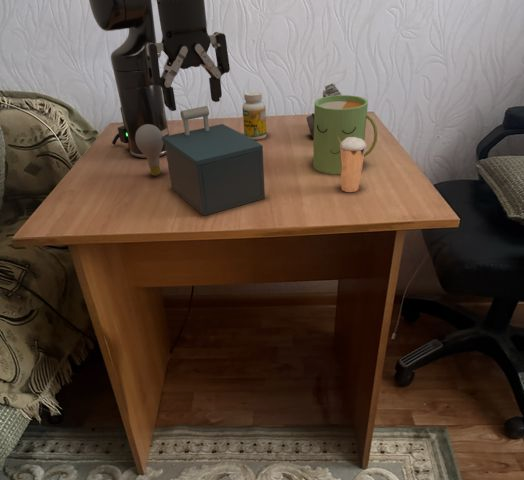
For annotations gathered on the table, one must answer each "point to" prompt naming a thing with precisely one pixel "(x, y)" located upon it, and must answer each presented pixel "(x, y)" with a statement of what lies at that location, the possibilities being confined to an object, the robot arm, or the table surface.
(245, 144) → the lid
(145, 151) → the light bulb
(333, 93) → the camera
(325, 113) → the mug
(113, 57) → the robot arm
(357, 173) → the milkshake
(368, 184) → the table surface
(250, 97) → the supplement bottle
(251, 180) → the compartment
